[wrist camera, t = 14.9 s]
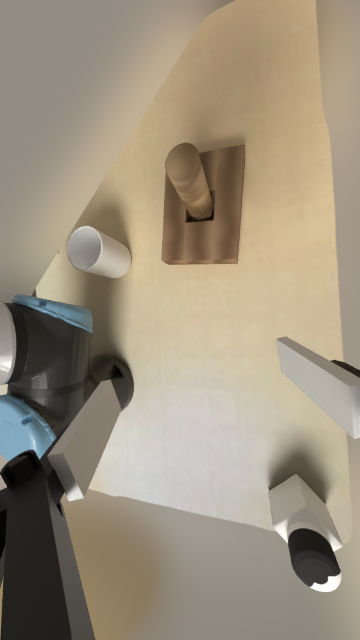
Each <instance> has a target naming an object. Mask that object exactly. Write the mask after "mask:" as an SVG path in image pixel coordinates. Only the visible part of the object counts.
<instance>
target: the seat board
mask: <svg viewBox="0 0 360 640" xmlns="http://www.w3.org/2000/svg"><path fill="white" fill-rule="evenodd" d="M199 157H200V160H201V164H202V167H203V170H204V174H205V177H206V181H207V184H208V188H209V191H210V195H211V197H212V200H213V202H215V208H214V220H213V221H201V222H191V216H190V214H189V213H188V210H187V209H186V207H185V205H184V203H183V201H182V200H181V198H180V196H179V194H178V193H177V191H176V189H175V187H174V185H173V184H172V182H171V180H170V178H169V176H168V175H167V173H166V181H165V201H164V221H163V241H162V261H164V262H165V263H167V264H168V265H181V264H238V250H239V236H240V222H241V208H242V193H243V179H244V165H245V145H240V146H235V147H229V148H224V149H219V150H214V151H208V152H203V153H199Z"/></svg>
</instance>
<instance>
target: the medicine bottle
mask: <svg viewBox="0 0 360 640" xmlns="http://www.w3.org/2000/svg"><path fill="white" fill-rule="evenodd" d="M269 498H270V506H271V513H272V521H273V527H274V528H275V529H276V531H277V532H278V533H279V534H280V535H281V536H282V537H283V539H284V540H285V541H286V542H287V543H288V546H289V552H290V557H291V563H292V567H293V569H294V571H295V573H296V574H297V576H298V577H299V578H300V579H301V580H302V581H303V582H304V583H305V584H306V585H308V586H309V587H311V588H312V589H315V590H317V591H322V592H329V591H333V590H335V589H336V588H337V587H338V585H339V584H340V582H341V571H340V568H339V565H338V562H337V560H336V557H335V554H334V551H336V550H337V549H339V548H341V547H343V544H342V541H341V539H340V537H339V534H338V532H337V530H336V527H335V525H334V523H333V520H332V518H331V515H330V513H329V511H328V508H327V506H326V504H325V503H324V502H323V501H322V500H321V499H320V498H319V497H318V496H317V495H316V494H315V493H314V492H313V491H312V489H311V488H310V487H309V486H308V485H307V484H306V483H305V482H304V481H303V480H302V479H301V478H300V477H299V476H298V475H297V474H294V475H293V476H291V477H290V478H288V479H287V480H285V481H284V482H282V483H281V484H279V485H277V486H276V487H274V488H273V489H271V490H270V491H269Z"/></svg>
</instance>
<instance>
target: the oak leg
mask: <svg viewBox="0 0 360 640" xmlns="http://www.w3.org/2000/svg"><path fill="white" fill-rule="evenodd" d="M165 170H166V173H167V175H168V176H169V178H170V180H171V182H172V184H173V185H174V187H175V189H176V191H177V193H178V194H179V196H180V198H181V200H182V201H183V203H184V205H185V207H186V209H187V210H188V213H189V214H190V216H191V217H192V218H194V219H195V220H196V221H197V222H201V221H212V219H213V211H212V208H213V200H212V197H211V195H210V191H209V188H208V184H207V181H206V177H205V174H204V170H203V167H202V164H201V160H200V157H199V153H198V150H197V149H196V147H195V146H194V145H192V144H189V143H182V144H179V145H177V146H176V147H174V148H173V149H172V150H171V151H170V153H169V154H168V156H167V158H166V162H165Z"/></svg>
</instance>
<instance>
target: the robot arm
mask: <svg viewBox="0 0 360 640" xmlns="http://www.w3.org/2000/svg"><path fill="white" fill-rule="evenodd" d="M12 302H13V303H0V385H4V384H8V390H7V394H6V395H1V396H0V454H1V455H2V456H3V457H4V458H5V459H7V460H8V461H9V462H8V463H7V464H6V465H5V466H4V467H3V468H2V470H1V472H0V475H1V476H2V478H3V480H4V482H5V484H6V485H7V488H5V489H3V490H1V491H0V587H1V583H2V580H3V600H2V620H1V639H0V640H95V636H94V632H93V628H92V624H91V620H90V616H89V612H88V608H87V604H86V600H85V595H84V591H83V588H82V583H81V579H80V575H79V571H78V567H77V563H76V559H75V554H74V551H73V546H72V542H71V538H70V534H69V531H68V526H67V522H66V518H65V514H64V510H63V506H62V504H61V502H60V500H61V498H62V496H63V494H64V492H65V494H66V496H67V498H68V500H69V501H72V500H77V499H81V498H84V496H85V494H86V492H87V489H88V487H89V485H90V482H91V480H92V478H93V475H94V473H95V470H96V468H97V466H98V463H99V461H100V459H101V456H102V454H103V451H104V449H105V447H106V444H107V442H108V440H109V437H110V435H111V433H112V430H113V428H114V425H115V423H116V421H117V418H118V416H119V414H120V412H121V411H122V410H124V409H125V408H126V407H127V406H128V404H129V403H130V401H131V399H132V396H133V388H134V387H133V379H132V376H131V373H130V371H129V369H128V368H127V366H126V365H125V364H124V363H123V362H122V361H121V360H120V359H118V358H116V357H114V356H111V355H100V356H96V357H93V358H91V359H89V357H90V347H91V337H92V334H93V330H92V325H93V315H92V313H91V311H90V310H89V309H87V308H85V307H80V306H76V305H71V304H66V303H61V302H56V301H51V300H47V299H42V298H37V297H32V296H27V295H22V294H16V295H15V296H14V298H13V299H12ZM276 343H277V349H278V356H279V362H280V368H281V372H282V373H283V374H284V375H285V376H287V377H288V378H289V379H290V380H291V381H292V382H293V383H294V384H295V385H296V386H297V387H298V388H300V389H301V390H302V391H303V392H304V393H305V394H306V395H307V396H308V397H309V398H310V399H311V400H312V401H314V402H315V403H316V404H317V405H318V406H319V407H320V408H321V409H322V410H323V411H324V412H325V413H327V414H328V415H329V416H330V417H331V418H332V419H333V420H334V421H335V422H336V423H337V424H338V425H339V426H341V427H342V428H343V429H344V430H345V431H346V432H347V433H348V434H349V435H350V436H351V437H352V438H354V439H356V438H360V370H358V369H356V368H354V367H352V366H350V365H348V364H347V363H344V362H341V361H337V360H332V361H329V360H327V359H325V358H323V357H322V356H320V355H318V354H316V353H314V352H313V351H311V350H309V349H307V348H306V347H304V346H302V345H300V344H298V343H297V342H295V341H293V340H291V339H289V338H288V337H282V338H278V339H276ZM3 576H4V579H3Z"/></svg>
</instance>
